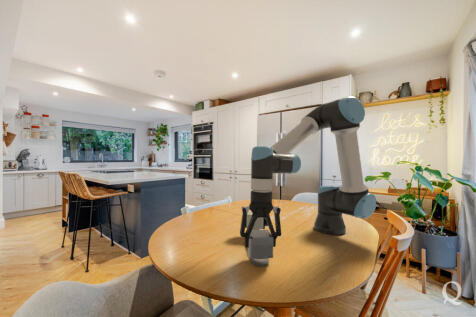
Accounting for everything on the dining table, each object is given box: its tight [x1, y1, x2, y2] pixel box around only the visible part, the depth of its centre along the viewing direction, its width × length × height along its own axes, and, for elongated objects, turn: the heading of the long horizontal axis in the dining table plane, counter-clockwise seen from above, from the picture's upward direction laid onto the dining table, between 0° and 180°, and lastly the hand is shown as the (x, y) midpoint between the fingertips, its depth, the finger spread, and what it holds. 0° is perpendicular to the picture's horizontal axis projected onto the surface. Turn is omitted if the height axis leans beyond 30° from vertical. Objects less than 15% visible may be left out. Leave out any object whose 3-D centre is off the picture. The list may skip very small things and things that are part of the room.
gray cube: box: [250, 229, 274, 260], centre depth 70 cm, size 7×7×7 cm
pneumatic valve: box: [245, 211, 268, 230], centre depth 93 cm, size 6×12×12 cm, turn 78°
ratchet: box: [251, 258, 270, 268], centre depth 77 cm, size 6×20×7 cm, turn 7°
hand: (260, 256), depth 70 cm, fingers closed on gray cube, 7 cm apart
